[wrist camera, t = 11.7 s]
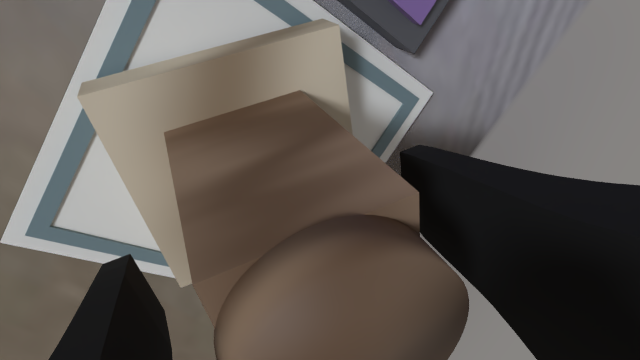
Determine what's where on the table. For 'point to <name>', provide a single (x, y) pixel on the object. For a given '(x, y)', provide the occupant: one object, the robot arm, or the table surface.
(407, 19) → the ink pad
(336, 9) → the table surface
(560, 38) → the table surface
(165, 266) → the form card
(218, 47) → the stamp
